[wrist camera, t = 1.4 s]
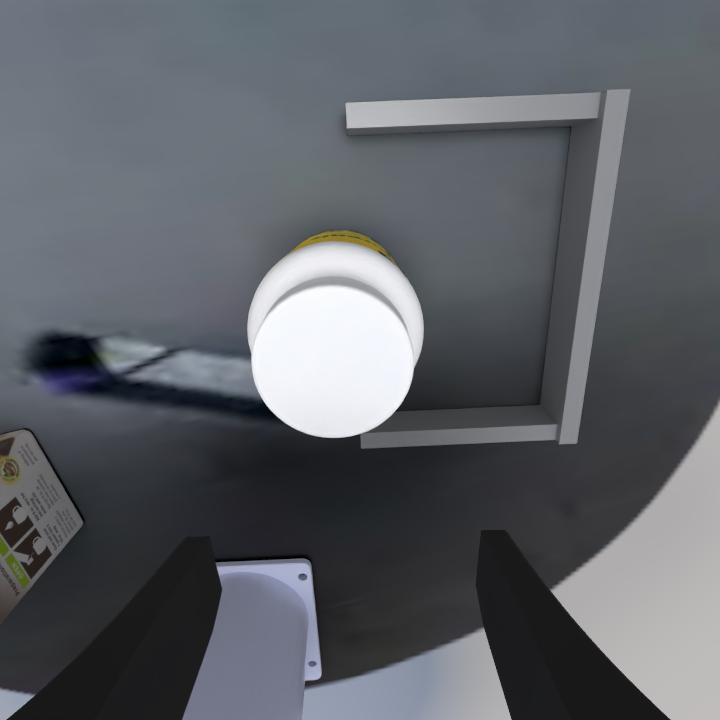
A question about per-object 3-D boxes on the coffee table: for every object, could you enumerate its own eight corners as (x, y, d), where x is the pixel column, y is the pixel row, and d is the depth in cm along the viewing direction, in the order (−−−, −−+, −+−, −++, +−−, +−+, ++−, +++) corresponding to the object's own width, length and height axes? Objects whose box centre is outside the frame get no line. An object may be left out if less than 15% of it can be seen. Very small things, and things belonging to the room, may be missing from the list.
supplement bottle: (424, 269, 20) (490, 335, 10) (360, 367, 21) (368, 498, 12) (318, 201, 19) (288, 207, 9) (258, 309, 20) (182, 405, 11)
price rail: (557, 418, 22) (581, 443, 20) (360, 427, 22) (361, 453, 20) (599, 102, 17) (635, 88, 15) (346, 112, 17) (345, 100, 15)
